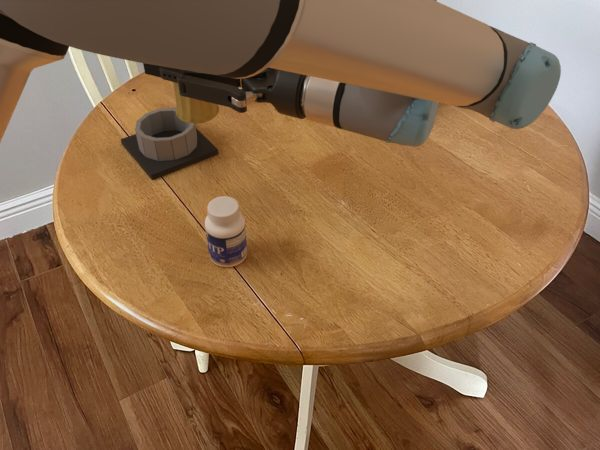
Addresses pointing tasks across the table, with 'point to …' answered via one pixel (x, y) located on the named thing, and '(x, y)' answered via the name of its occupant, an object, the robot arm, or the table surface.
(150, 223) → the table surface
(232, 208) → the pill bottle
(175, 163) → the socket pad
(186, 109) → the vase
